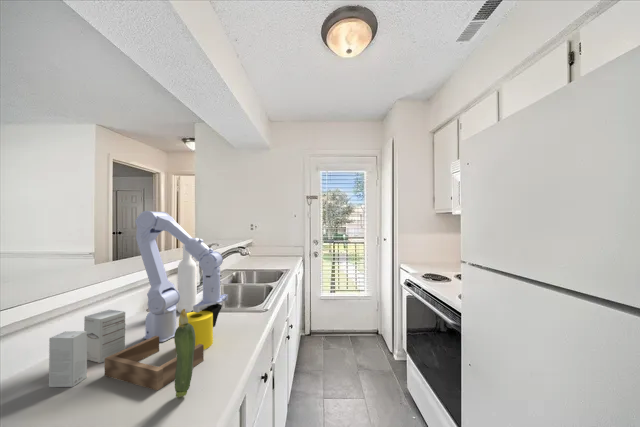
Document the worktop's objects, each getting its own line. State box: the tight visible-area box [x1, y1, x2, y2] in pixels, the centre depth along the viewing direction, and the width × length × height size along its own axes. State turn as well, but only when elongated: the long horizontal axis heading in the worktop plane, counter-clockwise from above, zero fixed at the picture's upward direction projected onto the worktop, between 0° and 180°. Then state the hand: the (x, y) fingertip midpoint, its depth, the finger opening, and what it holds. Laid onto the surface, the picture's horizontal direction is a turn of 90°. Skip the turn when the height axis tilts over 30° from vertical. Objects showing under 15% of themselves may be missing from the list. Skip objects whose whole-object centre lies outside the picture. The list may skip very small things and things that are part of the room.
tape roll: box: [178, 310, 214, 350], centre depth 87 cm, size 10×10×9 cm
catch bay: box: [104, 336, 205, 391], centre depth 74 cm, size 19×14×4 cm
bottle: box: [176, 243, 198, 314], centre depth 122 cm, size 8×8×30 cm
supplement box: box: [83, 309, 126, 364], centre depth 81 cm, size 7×7×13 cm
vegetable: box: [173, 309, 195, 399], centre depth 62 cm, size 4×4×20 cm
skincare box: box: [48, 330, 88, 388], centre depth 68 cm, size 6×4×12 cm
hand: (211, 326), depth 93 cm, fingers closed
